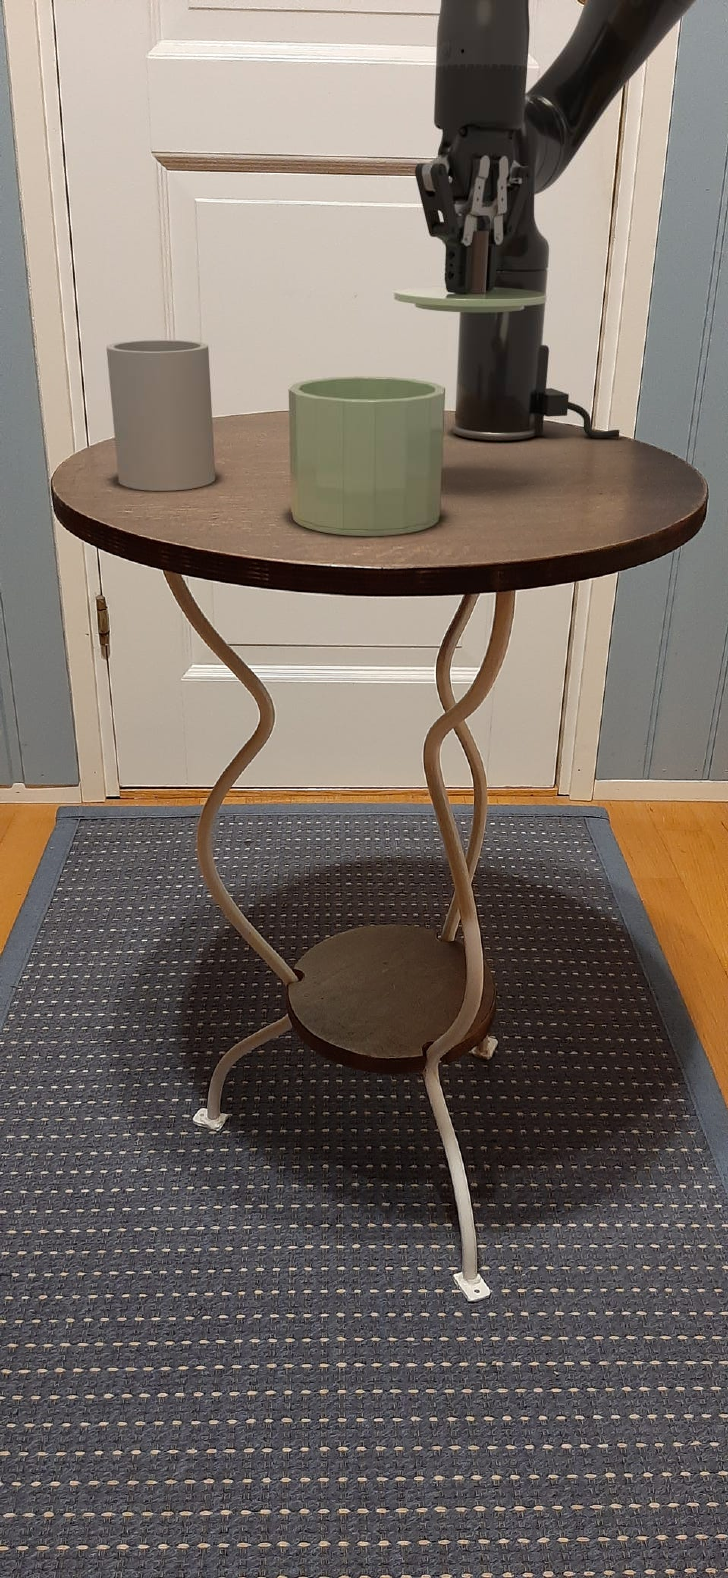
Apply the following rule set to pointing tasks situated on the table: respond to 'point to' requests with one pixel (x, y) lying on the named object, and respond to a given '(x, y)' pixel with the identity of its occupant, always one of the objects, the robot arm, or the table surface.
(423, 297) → the jar lid
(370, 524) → the jar
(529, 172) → the robot arm
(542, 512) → the table surface
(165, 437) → the cup
